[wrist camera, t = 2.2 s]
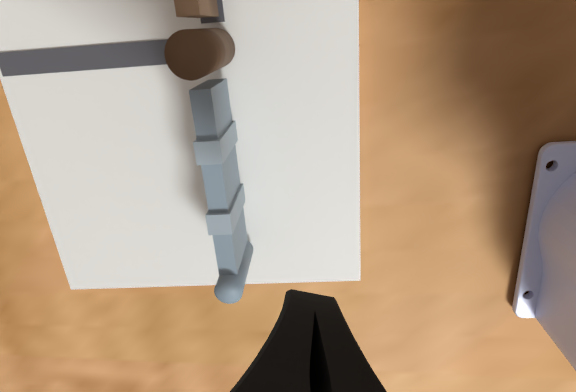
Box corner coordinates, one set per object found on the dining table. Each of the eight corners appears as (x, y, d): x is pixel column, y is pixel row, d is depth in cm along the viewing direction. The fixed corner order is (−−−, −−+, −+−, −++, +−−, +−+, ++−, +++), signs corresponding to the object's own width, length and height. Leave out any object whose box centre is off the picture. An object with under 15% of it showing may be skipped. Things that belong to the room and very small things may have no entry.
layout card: (359, 277, 22) (360, 281, 21) (74, 286, 23) (70, 290, 23) (355, -251, 14) (357, -257, 13) (-85, -192, 15) (-94, -197, 15)
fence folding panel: (254, 258, 21) (243, 303, 18) (231, 259, 21) (216, 304, 18) (232, 77, 17) (213, 90, 14) (204, 79, 18) (179, 92, 14)
